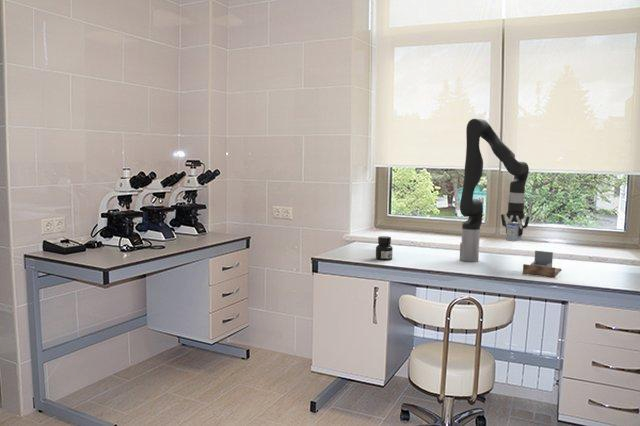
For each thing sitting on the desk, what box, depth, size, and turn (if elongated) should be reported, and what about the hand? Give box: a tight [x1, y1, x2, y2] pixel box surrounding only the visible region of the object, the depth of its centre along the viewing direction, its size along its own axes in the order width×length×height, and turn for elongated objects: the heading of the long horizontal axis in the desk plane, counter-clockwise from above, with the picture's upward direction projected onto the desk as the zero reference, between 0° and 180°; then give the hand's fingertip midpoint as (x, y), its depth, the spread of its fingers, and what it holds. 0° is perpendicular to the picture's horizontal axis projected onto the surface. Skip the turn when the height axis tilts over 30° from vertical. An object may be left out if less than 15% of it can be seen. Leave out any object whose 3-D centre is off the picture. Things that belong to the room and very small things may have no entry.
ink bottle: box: [375, 235, 394, 261], centre depth 283 cm, size 10×9×12 cm
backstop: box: [522, 263, 562, 279], centre depth 258 cm, size 14×23×4 cm, turn 148°
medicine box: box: [505, 222, 523, 242], centre depth 264 cm, size 8×4×9 cm, turn 135°
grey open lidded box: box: [529, 250, 554, 267], centre depth 254 cm, size 8×12×9 cm, turn 148°
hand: (514, 235), depth 264 cm, fingers closed on medicine box, 5 cm apart
